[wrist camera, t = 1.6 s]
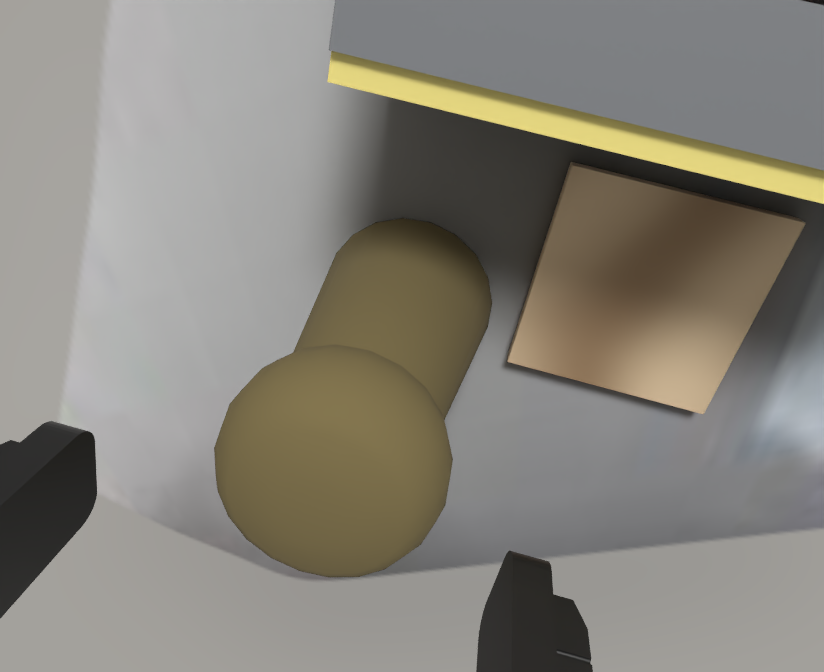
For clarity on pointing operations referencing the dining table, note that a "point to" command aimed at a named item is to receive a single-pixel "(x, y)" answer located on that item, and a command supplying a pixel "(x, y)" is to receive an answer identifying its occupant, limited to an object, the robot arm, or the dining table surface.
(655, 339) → the cork coaster
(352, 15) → the box
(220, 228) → the dining table surface
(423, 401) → the olive brown knobbed peg
